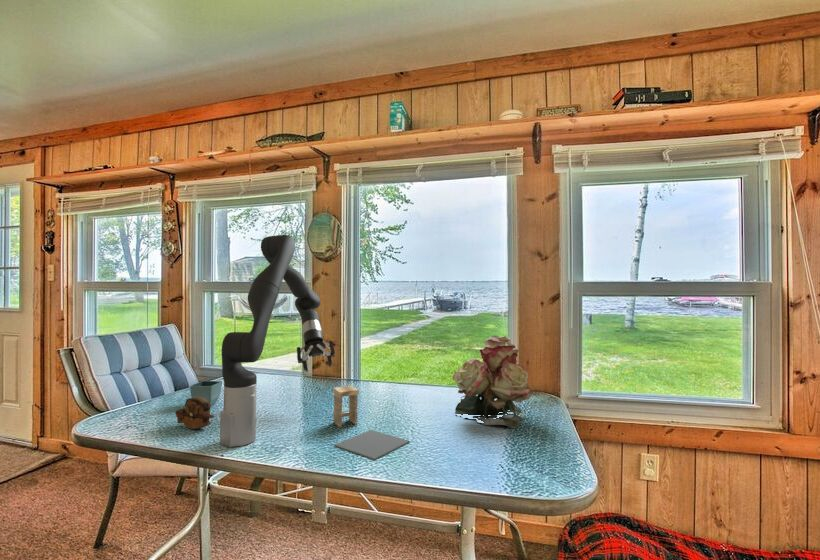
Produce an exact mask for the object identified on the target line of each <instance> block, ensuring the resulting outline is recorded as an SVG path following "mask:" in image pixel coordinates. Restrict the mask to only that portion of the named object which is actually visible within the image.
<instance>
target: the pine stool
mask: <svg viewBox="0 0 820 560" xmlns="http://www.w3.org/2000/svg"><path fill="white" fill-rule="evenodd" d="M359 392H360V390H359V389H358V388H356V387H355V386H353V385H346V386H338V387H333V388H332V393H333V423H334V425H336V426H337V427H338V428H339V429H340V428H342V425H343V418H344V417H345V418H346V417H348V421H349V422H351V423H352V424H353V425H354V426H356V425H358V395H359V394H360V393H359ZM343 397H348V412H345V413H343V409H342V408H343Z"/></svg>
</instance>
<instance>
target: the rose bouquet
mask: <svg viewBox="0 0 820 560" xmlns="http://www.w3.org/2000/svg"><path fill="white" fill-rule="evenodd" d="M511 340H512V338H511V337H508V336H506V335H504V336H499V335H490V338H487V339H485V341H484V344H485V347H484V348H482V349H479V352H480V355H481V359H482V361H481V360H479V359H477V358H474V357H471V358H469V359H468V360H466V361H464V363H463V364H462V365H461V366H460V367H459V368H458V370H457V371H455V372H454V374H453V375H452V380H453V381H454V382H455V383H456V385H457V387H458V391H457V394H461V395H462V394H464V395H463V396H462V397H461V396H460V402H458V403H457V404H456V407H455V410H454V415H455V414H461V415H463V414H468V415H484V416H488V415H500V414H498V413H499V412H505V413H504V414H507V415H503V416H502V417H499V418H496V419H485V418H486V417H485V418H477V419H478V420H481V421H483V422H484V423H483V424H482V425H484V426H507V427H508V428H509V429H512V430H514V429H515V428H519V427H520V425H521V422H522V421H524V420H527V419H528V417H524V416H525V412H522V409H521V408H520V407H519V406H518V405H516V404H515V403H519V404H521V403H522V402H523V401H526V400H529V399H530V398H531V396H532V394H533V393H532V390H531V388H530V387H529V385H528V379H529V378H528V377H529V373H528V371H526V370H525V368H524V366H522V365H520V364H518V363H517V362H518V361H517V357H518V356H519V355H518V353H519V349H518V348H516V345H514V344H513V343H511ZM514 402H515V403H514ZM508 410H510V411H508ZM507 412H513V413H514V414H508V413H507ZM516 413H519V415H520V417H519V416H518V415H516ZM520 413H521V414H520ZM521 415H522V416H521ZM484 416H483V417H484Z"/></svg>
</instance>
